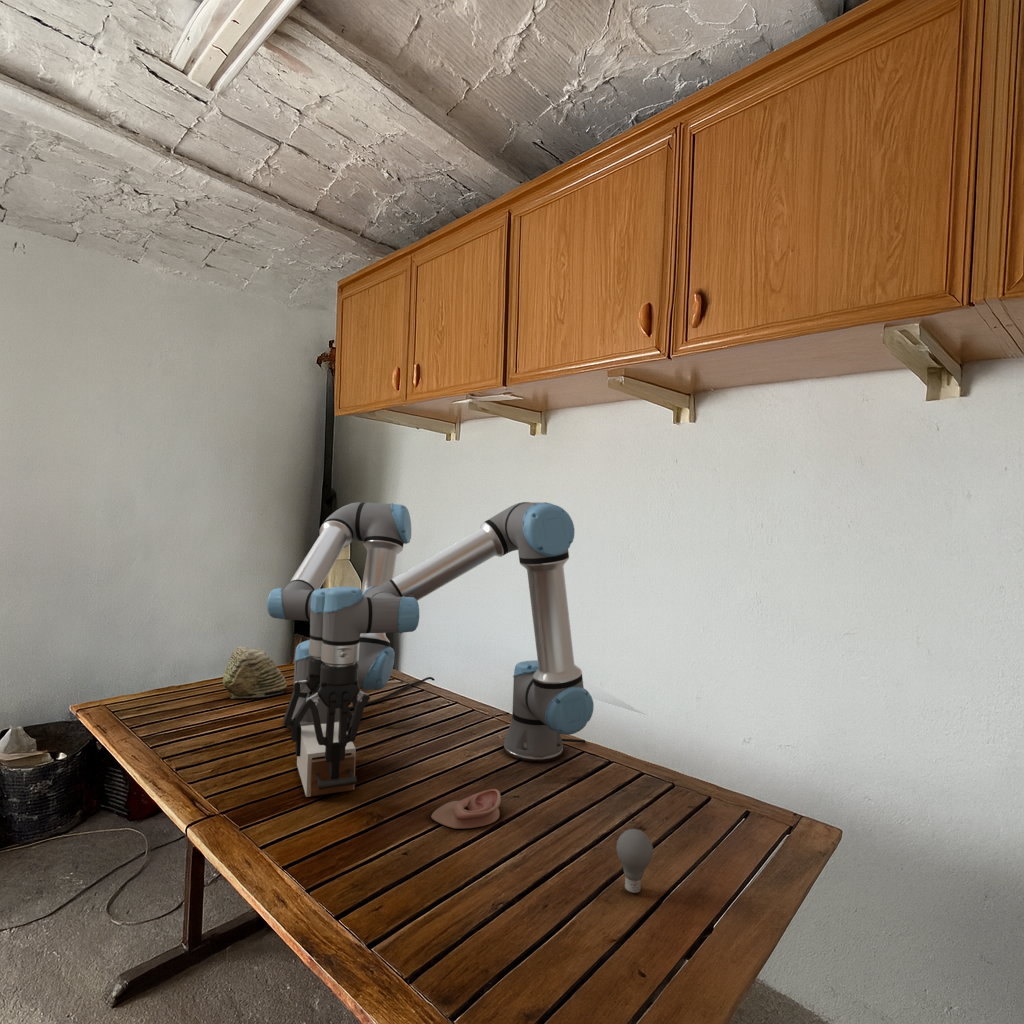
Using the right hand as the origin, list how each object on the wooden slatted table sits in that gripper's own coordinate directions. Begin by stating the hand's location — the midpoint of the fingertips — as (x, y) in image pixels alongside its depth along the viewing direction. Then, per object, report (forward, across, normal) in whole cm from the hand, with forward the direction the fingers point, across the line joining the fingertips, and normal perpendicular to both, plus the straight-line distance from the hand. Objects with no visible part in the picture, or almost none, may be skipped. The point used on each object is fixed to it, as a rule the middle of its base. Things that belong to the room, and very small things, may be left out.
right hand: (333, 776), depth 131 cm
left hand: (+2, 0, +18) cm, 18 cm away
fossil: (+6, -11, +79) cm, 80 cm away
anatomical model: (+6, +24, -14) cm, 29 cm away
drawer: (+5, 0, +8) cm, 9 cm away
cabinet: (+6, 0, +14) cm, 15 cm away
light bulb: (+5, +41, -47) cm, 63 cm away
